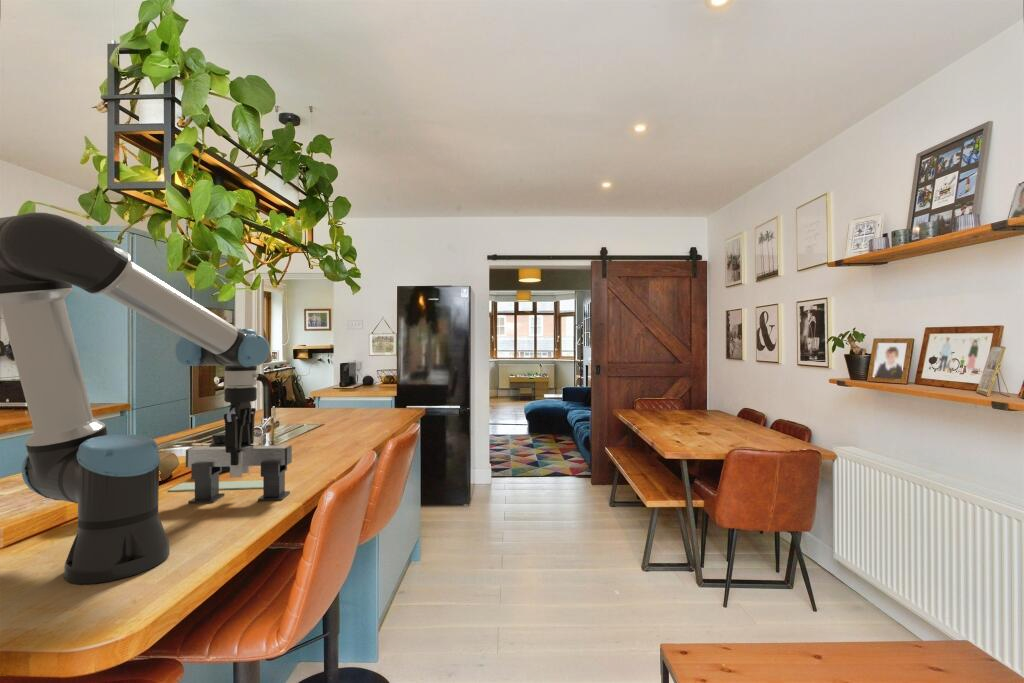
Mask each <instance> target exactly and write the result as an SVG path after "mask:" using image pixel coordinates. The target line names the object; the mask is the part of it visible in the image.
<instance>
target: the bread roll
mask: <svg viewBox="0 0 1024 683" xmlns="http://www.w3.org/2000/svg"><path fill="white" fill-rule="evenodd" d="M159 457H160V462H159V471H160V472H161V474H160V475H159V476H160V478H161V480H163V481H165V480H166V479H168V478H169V477H171V476H172V475H173V474H172V472H173V471H174V470H175V469H176V468H177V467H178V465H179V466H180V460H179V457H178V456H177V454H176V453H174V452H173V453H172V452H170V451H169V452H167V453H166V452H159ZM171 474H172V475H171ZM170 475H171V476H170Z"/></svg>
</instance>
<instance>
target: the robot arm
mask: <svg viewBox="0 0 1024 683" xmlns="http://www.w3.org/2000/svg"><path fill="white" fill-rule="evenodd" d="M72 285H73V286H74V287H77V288H80V289H81V290H83V291H85V292H87V293H88V294H92V295H98V294H103V295H105V296H106V297H109V298H111V299H112V300H114V301H116V302H118V303H120V304H122V305H123V306H126V308H129V309H130V310H132V311H135V312H136V313H137V314H140V315H142V316H143V317H146V318H147V319H149V320H151V321H153V322H155V323H157V324H158V325H160V326H162V327H164V328H165V329H168V330H169V331H171V332H173V333H175V334H177V335H178V336H181V337H180V338H179V339H178V340H177V341H176V344H175V351H174V353H175V357H176V359H177V361H178V362H179V364H181V365H183V366H186V367H187V366H188V367H189V366H191V367H192V366H193V367H200V366H202V367H204V366H207V367H208V366H209V367H210V366H211V367H212V366H213V367H214V366H215V367H216V366H218V367H224V381H223V382H224V384H223V385H224V386H225V388H224V389H223V390H224V393H223V394H224V395H223V396H224V402H226V403H229V404H230V405H229V411H228V413H225V414H223V420H224V433H225V450H226V453H230V471H229V478H232V479H233V478H242V477H243V474H249V473H250V466H242V452H240V451H241V446H255V445H254V442H255V440H254V439H255V438H254V436H255V435H254V434H255V415H256V410H257V409H256V408H255V407H252V404H251V403H252V402H256V400H257V395H258V394H257V393H258V391H257V390H258V388H257V387H256V385H258V384H257V383H258V381H257V380H258V377H259V374H258V366H261V365H263V364H264V363H265V362H266V361H267V359H268V358H269V355H270V353H271V352H270V344H269V342H268V340H267V338H265V337H264V336H263V335H261V334H260V335H259V334H258V333H257V331H256V330H254V329H252V328H238V327H236V326H234V325H233V324H231V323H230V322H228V321H227V320H225V319H224V318H222V317H220V316H218V315H217V314H215V313H214V312H213V311H211V310H209V309H208V308H206V307H204V305H201V304H199V303H198V302H196V301H194V299H191V298H190V297H188V296H187V295H185V294H184V293H182V292H181V291H179V290H177V289H176V288H175V287H172V286H171V285H169V284H168V283H166V282H165V281H163V280H161V278H158V277H157V276H155V275H153V273H151V272H150V271H147V270H146V269H144V268H142V267H141V266H140V265H138V264H137V263H134V262H133V261H132V260H131V255H130V253H129V252H127V251H126V250H124V249H123V248H121V247H120V246H118V245H117V244H116V243H114V242H113V241H111V240H109V239H107V238H105V237H104V236H102V235H101V234H99V233H97V232H95V231H94V230H92V229H90V228H88V227H86V226H84V225H83V224H81V223H78V222H77V221H74V220H72V219H70V218H67V217H66V216H65V217H64V216H61V215H58V214H54V213H48V212H28V213H27V212H26V213H23V214H22V213H21V214H18V215H12V216H5V217H0V310H1V314H2V318H3V321H4V325H5V329H6V332H7V335H8V336H7V337H8V341H9V343H10V347H11V350H12V353H13V354H12V355H13V359H14V362H15V366H16V368H17V373H18V377H19V381H20V384H21V388H22V392H23V396H24V398H25V402H26V405H27V410H28V414H29V417H30V418H29V419H30V421H31V424H32V429H33V433H31V435H30V436H29V437H28V438H27V439H26V440H25V447H26V450H27V455H26V458H24V459H23V460H22V464H21V476H22V480H23V481H24V484H25V485H26V486H27V487H28V488H29V489H30V490H31V491H32V492H34V493H35V494H37V495H39V496H41V497H44V498H46V499H49V500H50V499H51V500H54V501H64V502H69V503H74V504H77V532H76V534H75V537H74V539H73V542H72V545H71V547H70V550H69V552H68V555H67V558H66V560H65V562H64V569H63V571H64V572H63V574H64V577H63V578H64V580H65V581H66V582H69V583H71V584H77V585H78V584H79V585H80V584H81V585H82V584H83V585H84V584H86V585H87V584H89V585H90V584H100V583H106V582H111V581H112V582H113V581H116V580H120V579H121V580H122V579H125V578H128V577H131V576H135V575H138V574H140V573H142V572H146V571H149V570H150V569H153V568H155V567H157V566H158V565H160V564H161V563H163V562H164V561H166V560H167V559H168V558H169V556H170V547H171V546H170V540H169V538H168V536H167V533H166V530H165V528H164V525H163V523H162V521H161V519H160V516H159V491H160V490H159V489H160V488H159V483H160V482H159V462H160V457H159V453H160V450H159V445H158V442H157V441H156V440H154V438H151V437H149V436H145V435H140V434H124V433H122V434H120V433H119V434H118V433H117V434H116V433H115V434H109V433H108V429H107V426H106V423H104V422H103V421H100V420H98V419H96V418H95V417H94V416H93V411H92V407H91V404H90V399H89V395H88V391H87V387H86V382H85V379H84V374H83V371H82V365H81V363H80V358H79V354H78V350H77V345H76V343H75V342H76V341H75V338H74V332H73V329H72V326H71V322H70V321H71V320H70V316H69V312H68V309H67V304H66V301H65V299H66V297H67V296H68V295H69V294H70V293H71V292H72V291H73V286H72Z"/></svg>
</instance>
